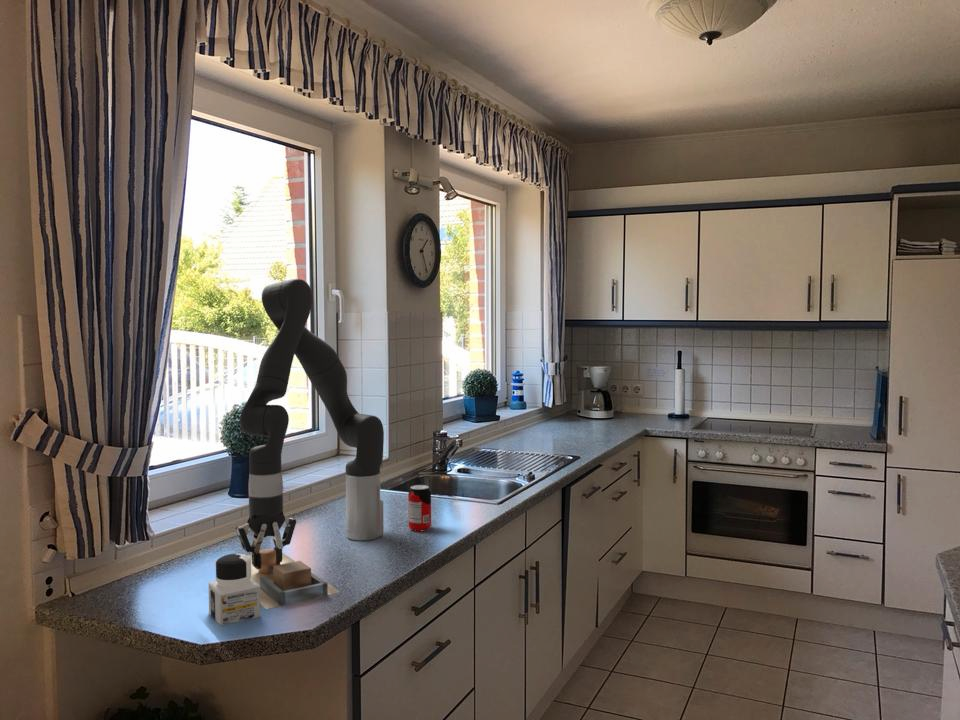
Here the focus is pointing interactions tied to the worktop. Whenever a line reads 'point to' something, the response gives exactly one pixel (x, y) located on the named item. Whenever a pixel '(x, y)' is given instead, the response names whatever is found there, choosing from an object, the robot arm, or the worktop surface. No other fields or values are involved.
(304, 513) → the worktop surface
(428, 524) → the beverage can
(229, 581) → the container
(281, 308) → the robot arm
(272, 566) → the wooden joystick
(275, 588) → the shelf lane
